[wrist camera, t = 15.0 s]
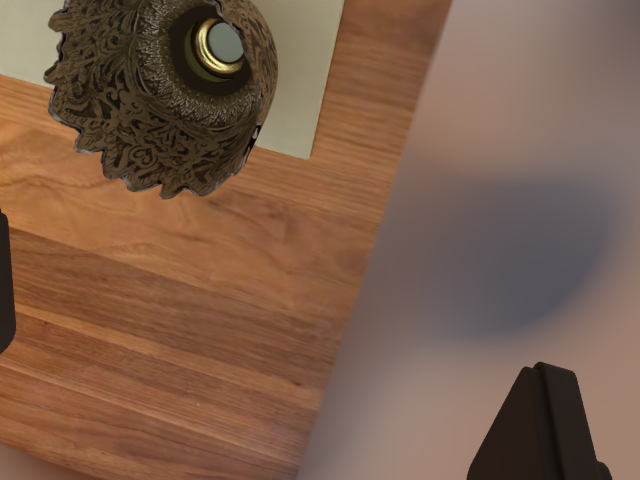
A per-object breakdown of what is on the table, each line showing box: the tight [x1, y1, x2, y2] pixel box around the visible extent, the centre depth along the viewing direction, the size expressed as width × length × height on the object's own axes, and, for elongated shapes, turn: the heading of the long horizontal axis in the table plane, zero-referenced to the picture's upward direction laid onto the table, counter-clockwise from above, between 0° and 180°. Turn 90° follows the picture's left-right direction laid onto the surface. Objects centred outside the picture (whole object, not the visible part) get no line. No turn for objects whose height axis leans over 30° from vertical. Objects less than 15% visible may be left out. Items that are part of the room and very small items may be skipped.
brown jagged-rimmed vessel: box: [43, 0, 278, 199], centre depth 23 cm, size 8×7×8 cm
